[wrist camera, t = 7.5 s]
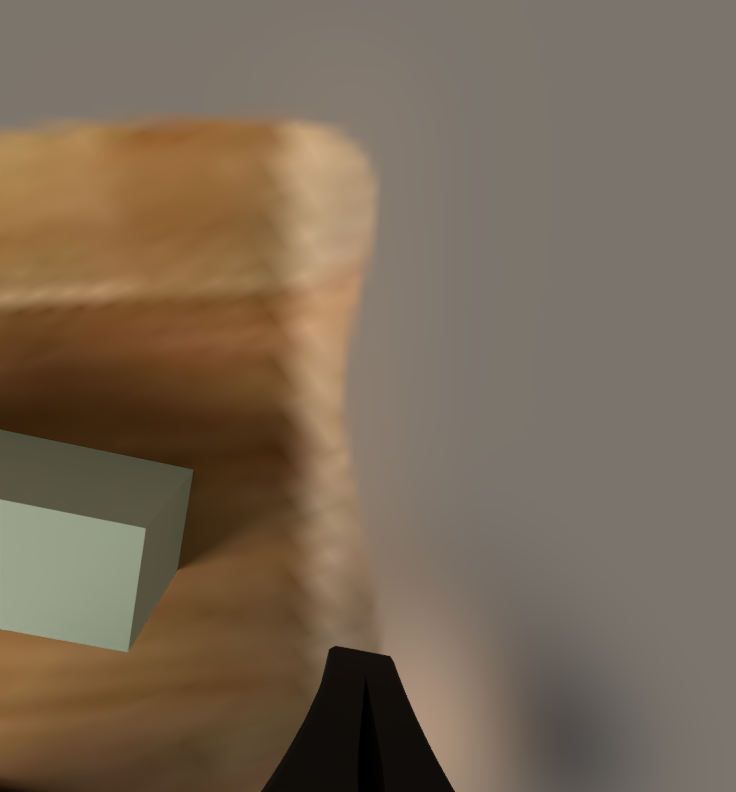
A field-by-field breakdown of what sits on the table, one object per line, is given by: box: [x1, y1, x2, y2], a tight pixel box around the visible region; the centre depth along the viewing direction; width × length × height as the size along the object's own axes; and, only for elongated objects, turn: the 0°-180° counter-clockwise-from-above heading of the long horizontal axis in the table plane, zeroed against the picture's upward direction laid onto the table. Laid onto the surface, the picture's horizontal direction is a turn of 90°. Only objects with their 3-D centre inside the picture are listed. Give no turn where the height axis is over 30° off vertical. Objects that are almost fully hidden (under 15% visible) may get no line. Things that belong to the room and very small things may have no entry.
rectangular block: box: [0, 430, 193, 652], centre depth 15 cm, size 8×4×4 cm, turn 77°
